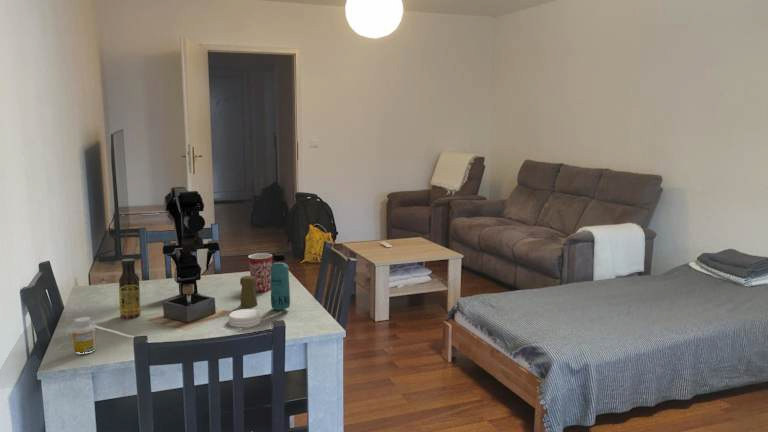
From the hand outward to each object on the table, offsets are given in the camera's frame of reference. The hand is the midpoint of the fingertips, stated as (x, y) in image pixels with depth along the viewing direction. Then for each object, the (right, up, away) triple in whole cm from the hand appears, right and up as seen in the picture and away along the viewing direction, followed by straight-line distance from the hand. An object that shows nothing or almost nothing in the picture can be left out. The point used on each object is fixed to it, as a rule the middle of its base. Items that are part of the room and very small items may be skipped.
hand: (193, 271), depth 202 cm
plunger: (+3, -13, -11) cm, 18 cm away
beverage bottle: (+32, -13, -6) cm, 35 cm away
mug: (+19, -9, +22) cm, 30 cm away
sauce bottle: (-17, -15, -11) cm, 25 cm away
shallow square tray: (+2, -14, -11) cm, 17 cm away
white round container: (+22, -16, -17) cm, 32 cm away
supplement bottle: (-17, -19, -40) cm, 47 cm away
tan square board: (+3, -14, -11) cm, 18 cm away
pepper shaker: (+20, -13, -1) cm, 23 cm away
